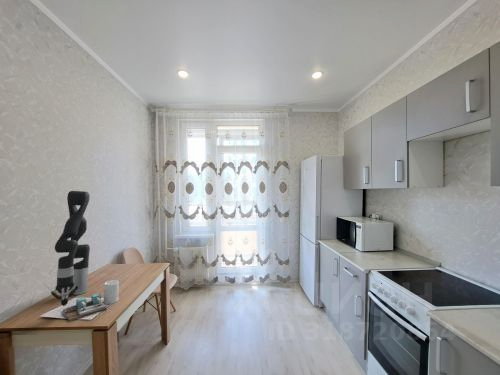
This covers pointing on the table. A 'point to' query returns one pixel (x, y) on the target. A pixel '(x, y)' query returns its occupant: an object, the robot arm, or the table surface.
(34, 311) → the table surface
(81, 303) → the sliding leg
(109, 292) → the mug
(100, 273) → the table surface
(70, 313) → the board
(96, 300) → the fixed leg
